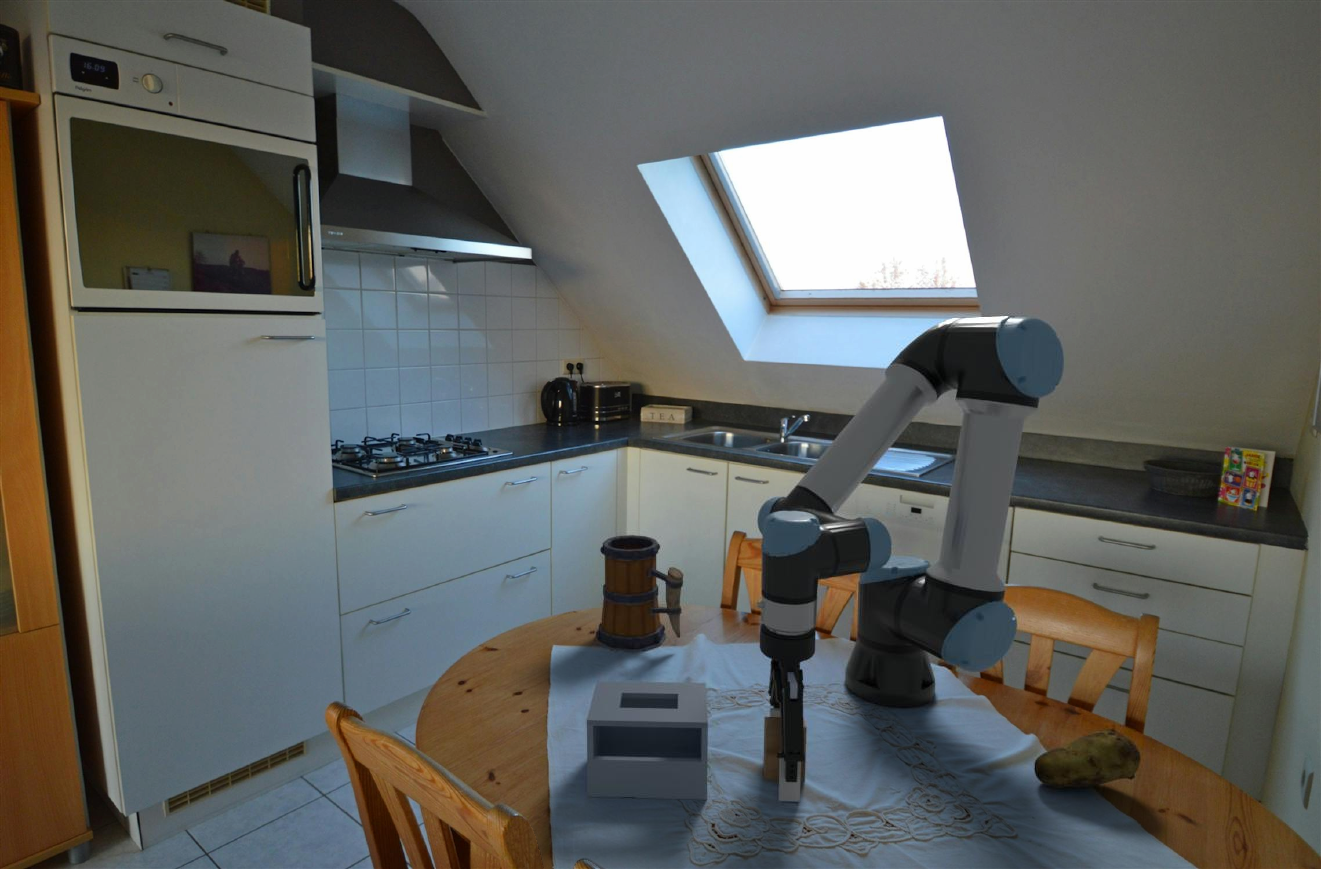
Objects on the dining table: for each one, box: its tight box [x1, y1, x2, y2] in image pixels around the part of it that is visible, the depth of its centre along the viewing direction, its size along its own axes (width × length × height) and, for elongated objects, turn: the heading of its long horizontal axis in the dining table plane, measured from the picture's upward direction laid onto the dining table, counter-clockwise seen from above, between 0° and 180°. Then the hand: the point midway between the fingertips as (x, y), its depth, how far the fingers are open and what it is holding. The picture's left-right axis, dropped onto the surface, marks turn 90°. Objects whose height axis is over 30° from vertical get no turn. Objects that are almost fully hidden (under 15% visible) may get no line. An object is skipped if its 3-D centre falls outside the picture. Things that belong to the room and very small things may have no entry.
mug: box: [595, 534, 684, 654], centre depth 148 cm, size 19×14×20 cm
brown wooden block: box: [762, 716, 807, 782], centre depth 103 cm, size 6×3×8 cm, turn 88°
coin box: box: [586, 680, 709, 800], centre depth 103 cm, size 16×11×11 cm
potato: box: [1033, 729, 1142, 789], centre depth 101 cm, size 8×13×8 cm, turn 69°
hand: (783, 773), depth 104 cm, fingers open, 11 cm apart
